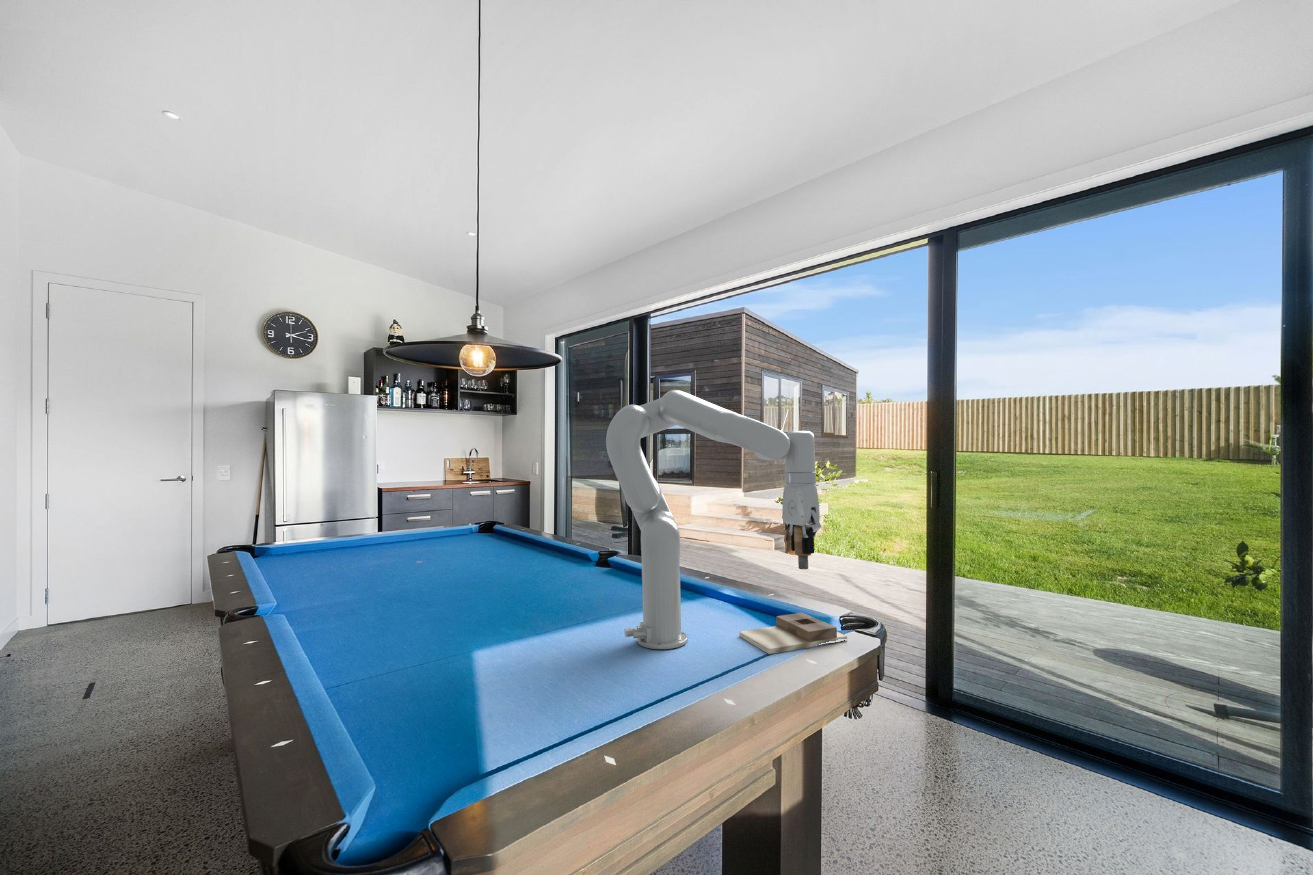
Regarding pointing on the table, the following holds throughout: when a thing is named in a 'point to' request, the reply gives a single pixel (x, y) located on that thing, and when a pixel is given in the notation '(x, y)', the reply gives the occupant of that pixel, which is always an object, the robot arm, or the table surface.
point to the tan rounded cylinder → (800, 547)
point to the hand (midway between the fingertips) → (802, 551)
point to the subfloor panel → (792, 634)
